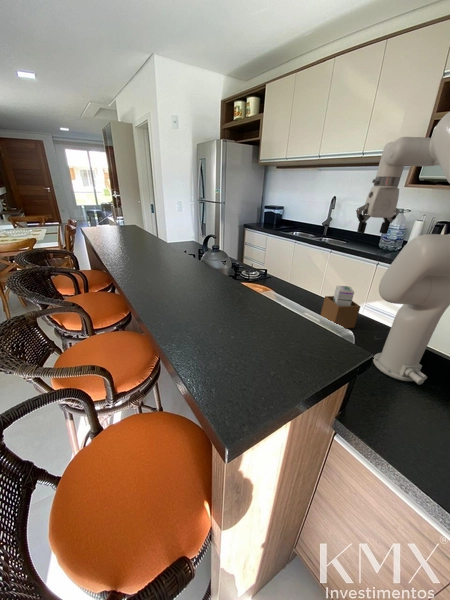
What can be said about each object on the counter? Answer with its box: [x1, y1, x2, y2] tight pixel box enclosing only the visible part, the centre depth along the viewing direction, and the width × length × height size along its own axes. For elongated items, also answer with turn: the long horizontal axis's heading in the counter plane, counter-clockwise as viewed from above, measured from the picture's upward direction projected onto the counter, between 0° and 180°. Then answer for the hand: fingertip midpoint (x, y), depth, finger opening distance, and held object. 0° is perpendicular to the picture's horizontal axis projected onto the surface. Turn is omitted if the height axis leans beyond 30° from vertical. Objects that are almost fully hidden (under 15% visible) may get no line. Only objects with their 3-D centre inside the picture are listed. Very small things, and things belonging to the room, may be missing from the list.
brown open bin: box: [320, 295, 361, 329], centre depth 101 cm, size 10×9×10 cm
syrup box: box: [333, 285, 355, 306], centre depth 100 cm, size 6×6×14 cm
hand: (371, 233), depth 94 cm, fingers open, 9 cm apart
